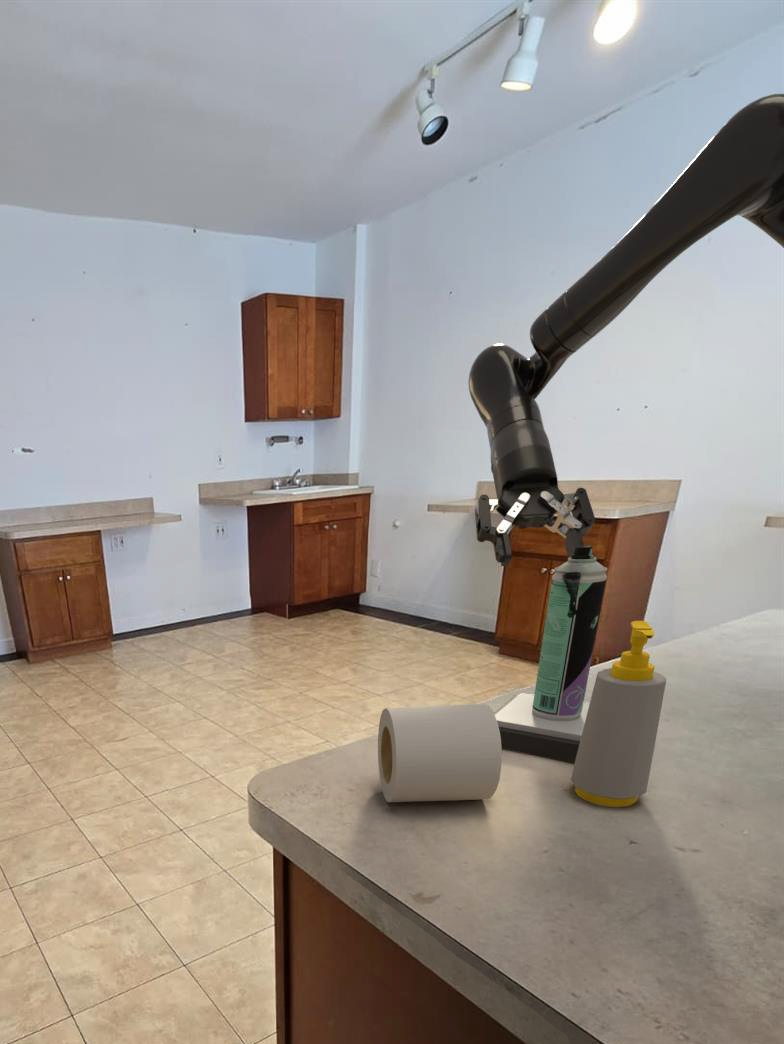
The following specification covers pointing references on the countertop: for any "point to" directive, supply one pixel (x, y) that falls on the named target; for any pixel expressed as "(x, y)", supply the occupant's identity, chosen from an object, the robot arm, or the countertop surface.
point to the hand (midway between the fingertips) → (541, 560)
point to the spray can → (569, 636)
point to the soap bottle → (620, 728)
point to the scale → (538, 730)
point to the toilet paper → (439, 753)
